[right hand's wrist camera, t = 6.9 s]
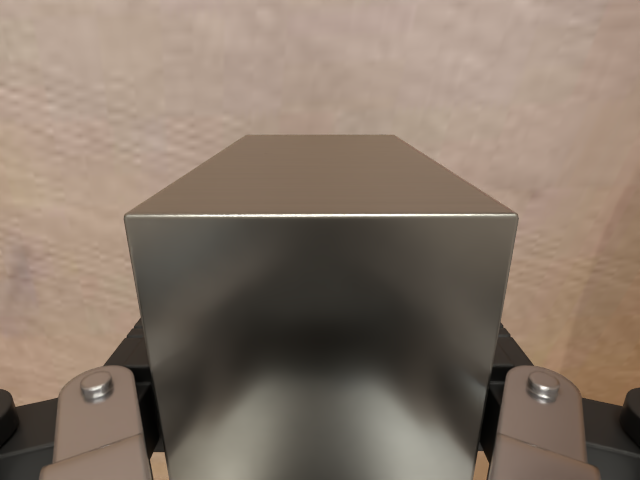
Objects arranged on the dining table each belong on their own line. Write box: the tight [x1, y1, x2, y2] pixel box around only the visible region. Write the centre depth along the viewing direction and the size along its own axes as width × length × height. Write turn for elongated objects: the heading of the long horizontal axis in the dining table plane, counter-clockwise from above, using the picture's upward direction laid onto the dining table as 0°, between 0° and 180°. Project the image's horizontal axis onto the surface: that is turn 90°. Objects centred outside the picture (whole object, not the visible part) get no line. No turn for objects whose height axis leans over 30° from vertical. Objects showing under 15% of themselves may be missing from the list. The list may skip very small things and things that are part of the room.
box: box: [124, 135, 519, 480], centre depth 16 cm, size 24×6×11 cm, turn 0°
